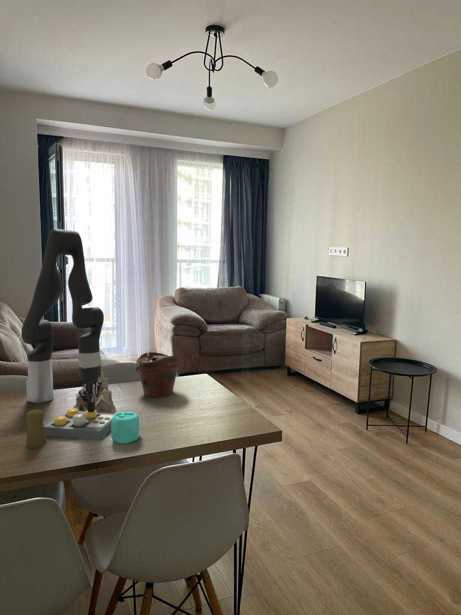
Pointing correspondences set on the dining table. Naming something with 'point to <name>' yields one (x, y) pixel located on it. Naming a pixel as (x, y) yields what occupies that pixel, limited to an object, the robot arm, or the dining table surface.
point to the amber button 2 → (72, 412)
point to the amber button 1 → (60, 421)
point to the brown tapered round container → (157, 373)
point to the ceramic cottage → (99, 399)
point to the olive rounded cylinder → (35, 429)
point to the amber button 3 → (91, 415)
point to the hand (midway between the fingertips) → (91, 411)
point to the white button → (79, 420)
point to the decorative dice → (125, 427)
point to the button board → (82, 427)
